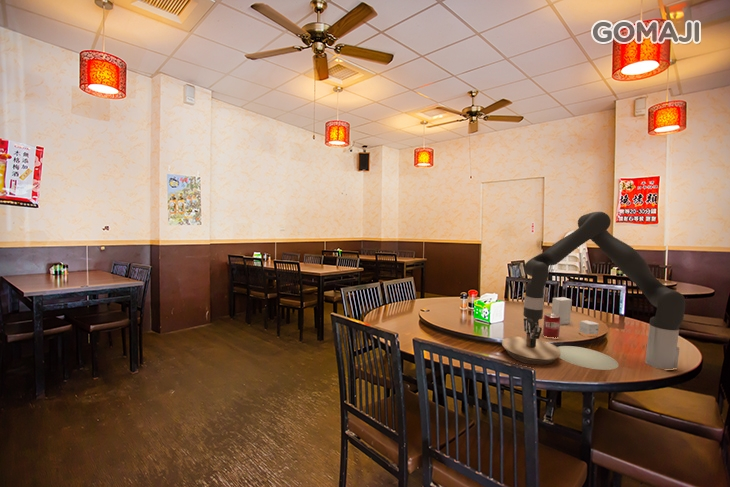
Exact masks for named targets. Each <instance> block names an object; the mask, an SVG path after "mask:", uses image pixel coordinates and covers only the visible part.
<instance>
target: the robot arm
mask: <svg viewBox="0 0 730 487" xmlns="http://www.w3.org/2000/svg"><path fill="white" fill-rule="evenodd" d="M611 220H612V219H611V217H610V215H608V213H606V212H603V211H594V212H589V213H586V214H583V215H581V216H580V217H579V218H578V220H577V226H578V228H577V229H575V230H574V231H573V232H571V233H570V234H568V235H566V236H565V237H563V238H561V239H559V240H558V241H556V242H555V243H553V244H552V245H551V246H550V247H549V248H547V249H546V250H545V251H544V252H542V253H539V254H537V255H535V256H534V257H531V258H530V259H529V260H528V261H526V263H525V264H524V266H523V267H524V268H523V270H524V273H525V274H526V275H527V276H530V277H531V279H530V282H527V283H526V284H525V295H524V300H523V313H522V314H523V317H524V318H523V328H524V329H523V330H524V332H525V335H527V334H530V346H531V347H536V339H538V340H540V337H541V333H542V332H543V327H540V323H539V321H540V320H541V319H544V315H543V314H544V303H545V301H544V296H545V295H544V294H545V286H546V284H547V280H548V278H549V276H550V275H549V274H550V271H549V266H555V265H557V264H559V263H560V262H561V261H563V260H564V259H565V258H566V257H568V256H569V255H570V254H571V253H572V252H574V251H576V249H578V248H579V247H581V246H582V245H583V244H585V243H587V242H588V241H590V240H591V241H592V242H593V243H594V244H595V245H596V246H598V247H599V249H600V250H601V251H602V252H603V253H604V254H605V255H606V256H607V258H609V259H610V261H612V262H613V263H614V265H615V266H616V267H617V268H618V269H619V270H620V271H621V272H622V273H623V275H625V276H626V277H627V278H628V279H629V280H630V281H632V282H633V283H634V284H635V286H637V287H638V288H639V289H640V291H641V292H642V293H643V295H644V296H645V297H646V299H647V300H648V301H649V303H650V304H651V305H653V306H654V307H655V308H656V312H655V316H652V317H650V318H649V325H648V326H649V328H648V335H647V344H646V352H645V364H647V365H648V366H650V367H653V368H655V367H657V368H656V369H658V368H663V369H673V368H677V369H678V365H679V364H678V363H679V358H680V357H679V355H680V347H679V346H678V340H679V334H680V332H679V331H680V327H681V325H682V323H683V321H684V315H685V312H686V311H685V310H686V298H685V296H684V294H682V293H681V292H679V291H676V290H674V289H671V288H668V287H667V286H665V285H664V284H663V283H662V282H661V281H660V280H659V279H658V278H656V276H655V274H654V275H653V273H652V271H651V267H650V266H649V264H648V263H647V261H646V260H645V259H644V257H643V256H642V255H641V254H640V253H639V252H638V251H637V250H636V249H635V248H633V247H632V246H631V245H629V244H628V243H626V242H624V241H622V240H620V239H619V238H616V237H615V236H613V235H612V234H611V233H610V232H609V231H608V229H610V226H611V223H612V221H611ZM526 342H527V338H526Z"/></svg>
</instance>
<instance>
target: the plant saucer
mask: <svg viewBox="0 0 730 487" xmlns="http://www.w3.org/2000/svg"><path fill="white" fill-rule="evenodd" d="M505 351H506V352H507V354H508V355H509V356H510V357H511V358H513V359H514V360H517V361H518V362H521V363H523V364H529V365H542V366H544V365H548V364H551V363H553V362H555V361H556V359H551V360H540V359H532V358H527V357H523V356H520V355H517V354H514V353H512V352H510V351H508V350H507V349H505Z"/></svg>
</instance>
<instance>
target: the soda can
mask: <svg viewBox="0 0 730 487" xmlns="http://www.w3.org/2000/svg"><path fill="white" fill-rule="evenodd" d="M560 319H561V318H560V316H559V315H556V314H552V312H551V313H549V312H547V313H545V314H544V315H543V325H542V326H543V327H542V336H543V335H544V336H547V337H554V338H555V337H556V338H557V337H559V338H560V329H561V325H560Z"/></svg>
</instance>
